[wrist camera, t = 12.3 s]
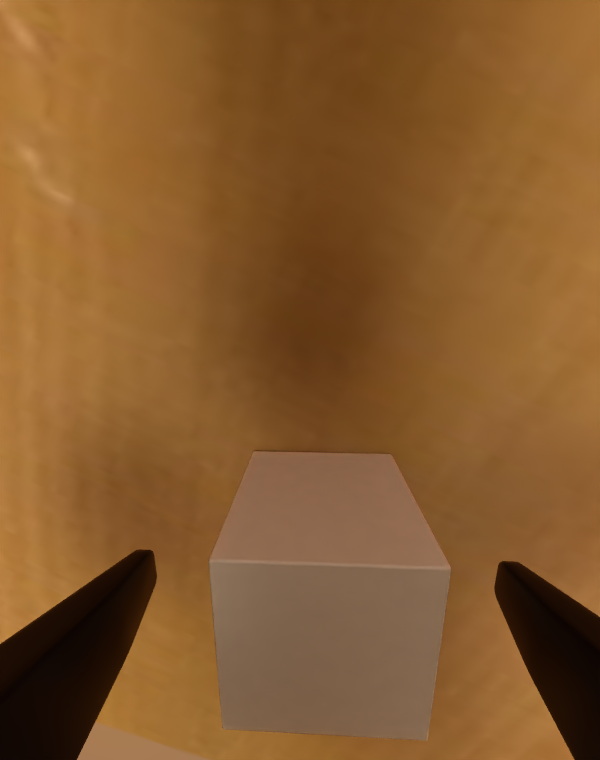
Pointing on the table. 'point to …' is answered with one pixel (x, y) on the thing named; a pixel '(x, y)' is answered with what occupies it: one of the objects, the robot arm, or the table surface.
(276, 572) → the block
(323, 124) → the table surface
